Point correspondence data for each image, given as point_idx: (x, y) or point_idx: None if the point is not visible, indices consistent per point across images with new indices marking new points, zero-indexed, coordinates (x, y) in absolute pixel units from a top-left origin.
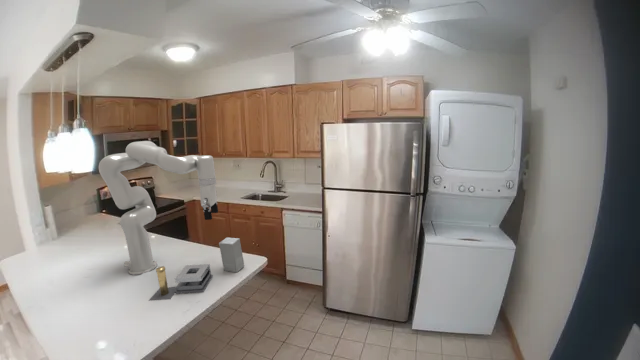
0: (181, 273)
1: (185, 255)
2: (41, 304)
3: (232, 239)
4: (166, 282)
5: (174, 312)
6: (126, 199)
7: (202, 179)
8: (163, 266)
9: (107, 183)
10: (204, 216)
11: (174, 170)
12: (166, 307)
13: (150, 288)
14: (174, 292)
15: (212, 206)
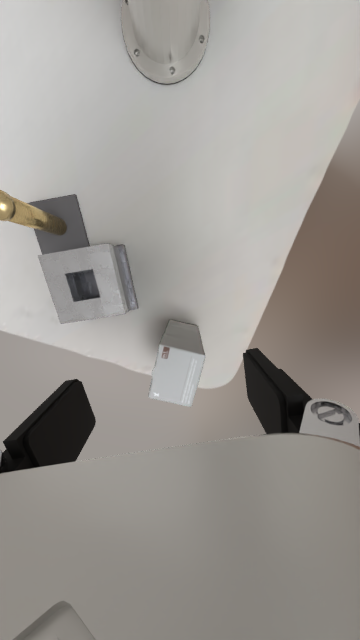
0: (64, 259)
1: (255, 145)
2: None
3: (183, 385)
4: (40, 229)
5: (15, 291)
6: None
7: None
8: (9, 206)
9: None
10: (47, 399)
11: None
12: (22, 264)
13: (72, 164)
14: (66, 249)
15: (275, 411)
